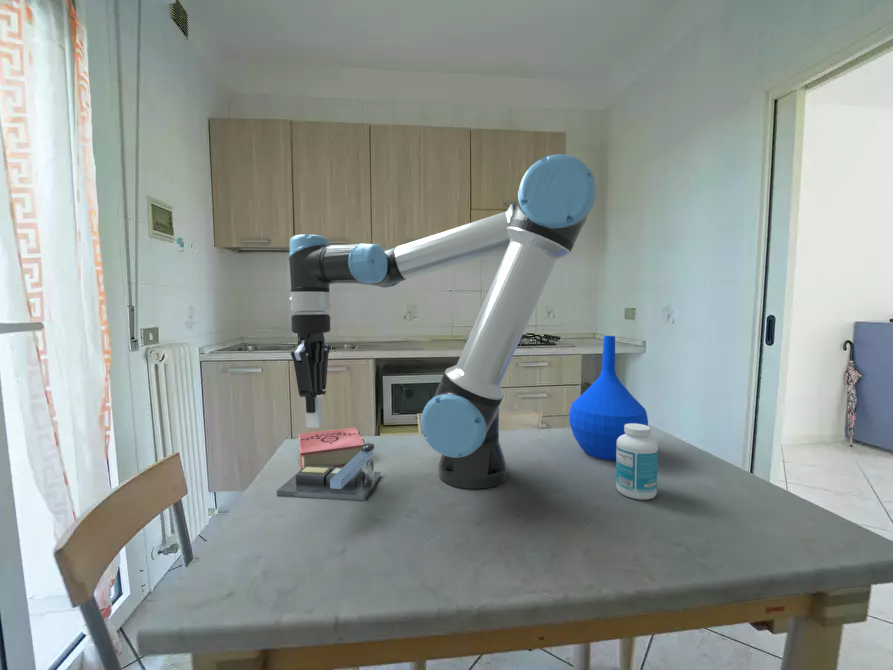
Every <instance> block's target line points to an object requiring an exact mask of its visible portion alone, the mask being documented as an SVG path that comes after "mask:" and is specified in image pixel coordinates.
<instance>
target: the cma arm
mask: <svg viewBox="0 0 893 670" xmlns="http://www.w3.org/2000/svg"><path fill="white" fill-rule="evenodd" d="M361 449H362V450H361V451H360V452H359V453H358V454H357V455H355V456H354V457H353V458H352V459H351V460H350V461H349V462H348V463H347V464H346V465H345V466H343V468H342V469H341V470H340V471H339V472H337V473H336V474H335V475H334V476H333V477H332V478H331V479H330V488H333V489H342V488H343V487H344V486H345V485H346V484H347V483H348V481H349V480H350V479H351V478H352V477H353V476H354V475H355V474H356V473H357V472H358V471H359V470H360V469H361V468H362V467H363V466H364V464H365V463H366V462H367V461H368V460H369V459H370V458H371V457H372V456H373V457H374V455H373V453H374V452H373V450H374V449H375V444H374V443H365V444H363V445H362V446H361Z"/></svg>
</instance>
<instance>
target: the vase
mask: <svg viewBox="0 0 893 670" xmlns="http://www.w3.org/2000/svg"><path fill="white" fill-rule="evenodd" d="M602 343H603V344H602V345H603V346H602V359H601V360H602V364H601V365H602V366H601V367H602V368H601V371H600V374H599V375H598V378H597V379H596V380H595V381H594V382H593V383H592V384H591V385H590V386H589V387H588V388H587V389H586V390H585V391H584V392H582V394H581V395H579V397H577V398H575V400H574V401H573V402H571V406H570V409H569V413H568V414H569V417H568V419H569V425H570V428H571V431H572V435H573V437H574V439H575V440H576V442H577V444H578V445H579V447H580V448H581V449H582V450H583V451H584V452H585V453H586V454H587V455H588V456H590V457H593V458H596V459H599V460H602V461H613V462H616V449H617V439H618V437H620V436H621V435H624V434H626V433H625V431H624V425H625V424H630V423H635V424H643V425H646V426H649V418H648V413H647V410H646V408H645V407H644V406H643V405H642V404H641V403H640V402H639V401H638V400H637V399H636V398H635V397H634V395H633V394H631V393H630V392H629V390H628V389H627V388H626V387H625V385H624V384H623V383H622V382H621V381H620V379H619V377H618V376H617V373H616V336H614V335H604V336H603V342H602Z"/></svg>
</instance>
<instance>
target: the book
mask: <svg viewBox="0 0 893 670" xmlns="http://www.w3.org/2000/svg"><path fill="white" fill-rule="evenodd" d="M298 441H299V442H298V444H299V450H298V453H299V464H300V470H302V469H303V468H305V467H306V466H307V465H312V466H333V467H334V468H335V467H344V466H345V465H346V464H347V463H348V462H349V461H350V460H351V459H352V458H353V457H354V456H355V455H357V454H358V453H359V452H360V451H361V450H362V449H361V446H362V445H363V444H366V443H365V439H364V438H362V437H361V434H360V430H357V428H356V427H347V428H339V429H337V428H336V429H330V430H321V431H319V430H318V431H311V432H303V433H298Z"/></svg>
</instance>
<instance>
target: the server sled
mask: <svg viewBox="0 0 893 670" xmlns="http://www.w3.org/2000/svg"><path fill="white" fill-rule="evenodd" d="M343 467H344V466H343ZM343 467H335V468H334V467H333V466H312V465H307V466H306V467H305V468H303V469H302V470H301V469H300V470H299V471H298V472H297V473H295V474H294V475H293V476H292V477H291V478H290V479H288V480H287V481H286V482H285V483H283V485H282V486H280V487H279V488H278V489H277V490H276V496H281V497H298V498H299V497H300V498H312V499H313V498H314V499H331V500H350V501H366V499H368V496H369V495H370V493H371V492H372V490H373V488H374V487H375V486H376V485H377V482H378V481H379V480H380V478H381V477H382V473H381V472H382V471H375V456H374V455H373V456H372V457H371V458H370V459H369V460H368V461H367V462H366V463H365V464H364V466H363V467H362V468H361V469H360V470H359V471H358V472H357V473H356V474H355V475H354V476H353V477H352V478H351V479H350V480H349V481H348V483H347V484H346V485H345V486H344V487H343V488H342V489H333V488H330V479H331V478H332V477H333V476H334V475H335V474H336V473H337V472H339V471H340V470H341V469H342V468H343Z"/></svg>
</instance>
